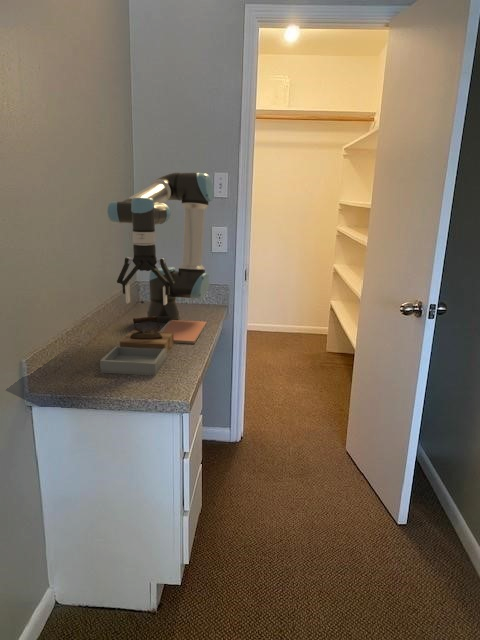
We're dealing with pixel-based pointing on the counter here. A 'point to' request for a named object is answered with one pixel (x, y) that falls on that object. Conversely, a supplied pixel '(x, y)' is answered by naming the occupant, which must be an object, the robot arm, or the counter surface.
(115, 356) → the bin
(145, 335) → the clothes iron
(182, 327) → the notebook
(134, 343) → the walnut stand
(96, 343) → the counter surface
